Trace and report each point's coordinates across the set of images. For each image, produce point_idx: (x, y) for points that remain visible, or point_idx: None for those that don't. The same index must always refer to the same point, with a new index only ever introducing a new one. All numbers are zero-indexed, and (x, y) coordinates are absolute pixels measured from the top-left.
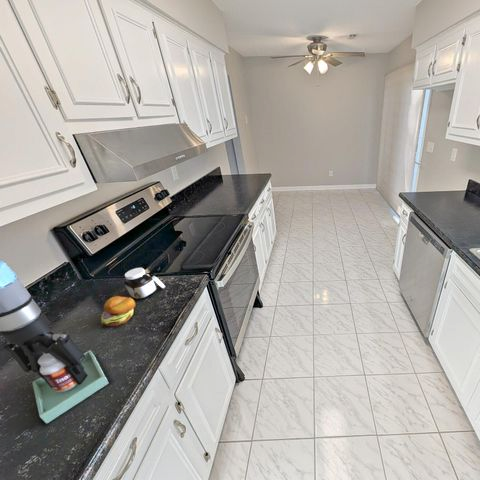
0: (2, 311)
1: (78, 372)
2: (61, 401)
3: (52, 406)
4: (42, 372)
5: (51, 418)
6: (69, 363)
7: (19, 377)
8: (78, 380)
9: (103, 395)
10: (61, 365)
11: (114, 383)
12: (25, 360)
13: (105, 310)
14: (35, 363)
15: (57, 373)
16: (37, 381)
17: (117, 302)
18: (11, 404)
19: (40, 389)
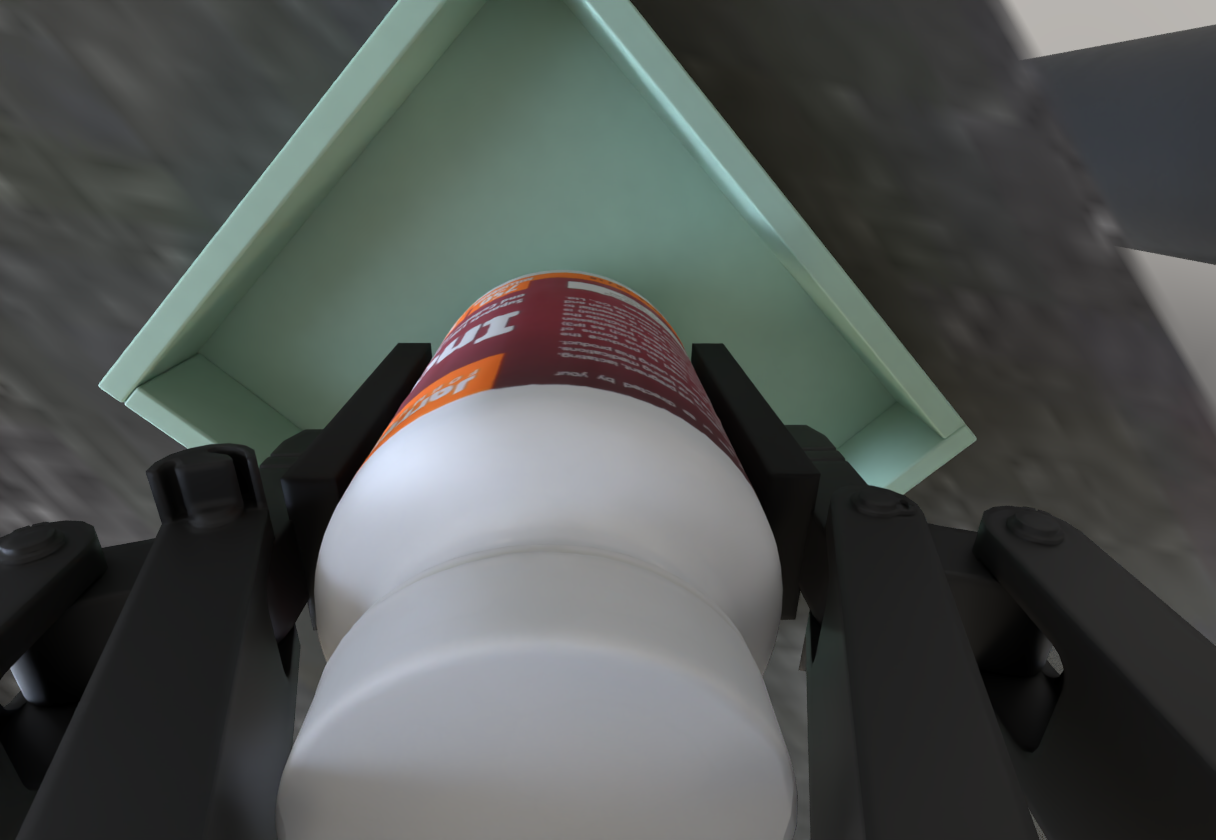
0: None
1: (309, 443)
2: (534, 182)
3: (598, 134)
4: (623, 429)
5: None
6: (144, 570)
7: (1161, 534)
8: (381, 367)
9: (108, 196)
10: (323, 547)
11: (109, 332)
12: (1147, 777)
13: None
14: (849, 659)
15: (417, 408)
16: (927, 442)
17: None
18: (1081, 260)
19: (871, 369)
